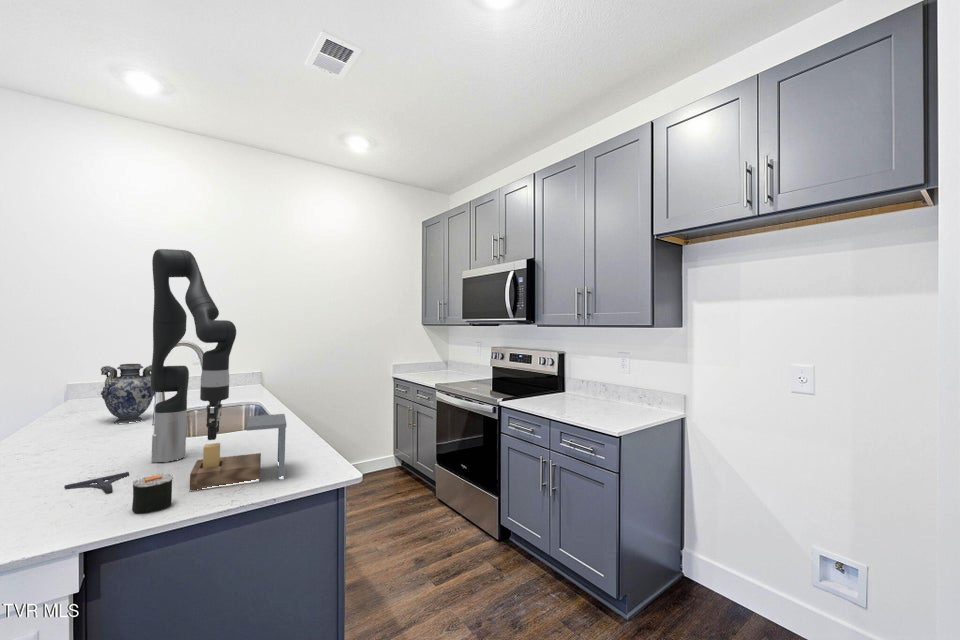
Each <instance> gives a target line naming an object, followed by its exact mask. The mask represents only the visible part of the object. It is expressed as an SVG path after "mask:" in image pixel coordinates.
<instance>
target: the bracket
mask: <svg viewBox="0 0 960 640" xmlns="http://www.w3.org/2000/svg"><path fill="white" fill-rule="evenodd" d="M127 476H128V477H129V476H130V472H129V471H125V472H119V473H116V474H112V475H107V476H103V477H97V478H92V479H89V480H83V481H79V482H74V483H70V484H69V483H68V484H65V485H63V486H64V487H63V488H64V489H65V490H73V489H83V488H84V489H86V488H89V489H90V488H92V489H101V490H102V491H103V493H105V494H106V495H109V494H113V492H114V491H113V490H114V489H113V485H112V482H113V483H115V482H116V480H117V481H119V480H121V478H122V479H124V477H125V478H128V477H127ZM105 480H108V481H105ZM114 481H115V482H114ZM92 483H94V484H92ZM96 483H97V484H96Z"/></svg>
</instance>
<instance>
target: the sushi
mask: <svg viewBox="0 0 960 640" xmlns="http://www.w3.org/2000/svg"><path fill="white" fill-rule="evenodd" d="M173 480H174V475H172V474H171V473H161V474H160V473H156V474H152V475H150V476H144V477H141V478H138V479H135V480H132V507H131V511H132V513H134V514H135V515H143V514H144V515H145V514H150V513H154V512H155V513H156V512H159V511H163V510H166V509H167V508H168V509H169V508H170V507H171V506H172V496H173V495H172V494H173V493H172V492H173Z"/></svg>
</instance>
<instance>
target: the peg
mask: <svg viewBox="0 0 960 640" xmlns="http://www.w3.org/2000/svg"><path fill="white" fill-rule="evenodd" d="M202 455H203V456H202V459H203V468H210V467H219V466H220V457H221V442H216V443H206V444H204V446H203V452H202Z"/></svg>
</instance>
